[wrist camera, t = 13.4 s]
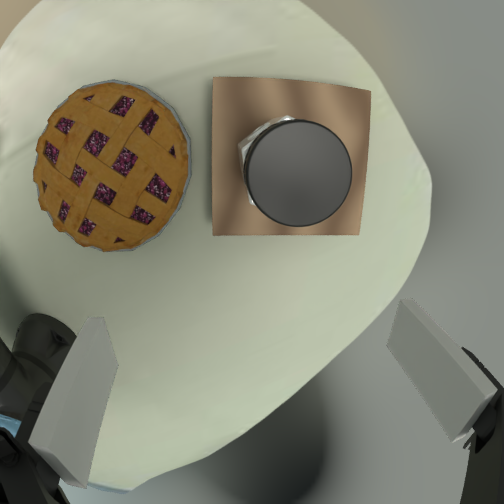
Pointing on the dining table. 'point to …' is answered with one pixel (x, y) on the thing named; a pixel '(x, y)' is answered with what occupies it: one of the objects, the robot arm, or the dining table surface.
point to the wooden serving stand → (272, 106)
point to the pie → (112, 166)
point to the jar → (295, 171)
